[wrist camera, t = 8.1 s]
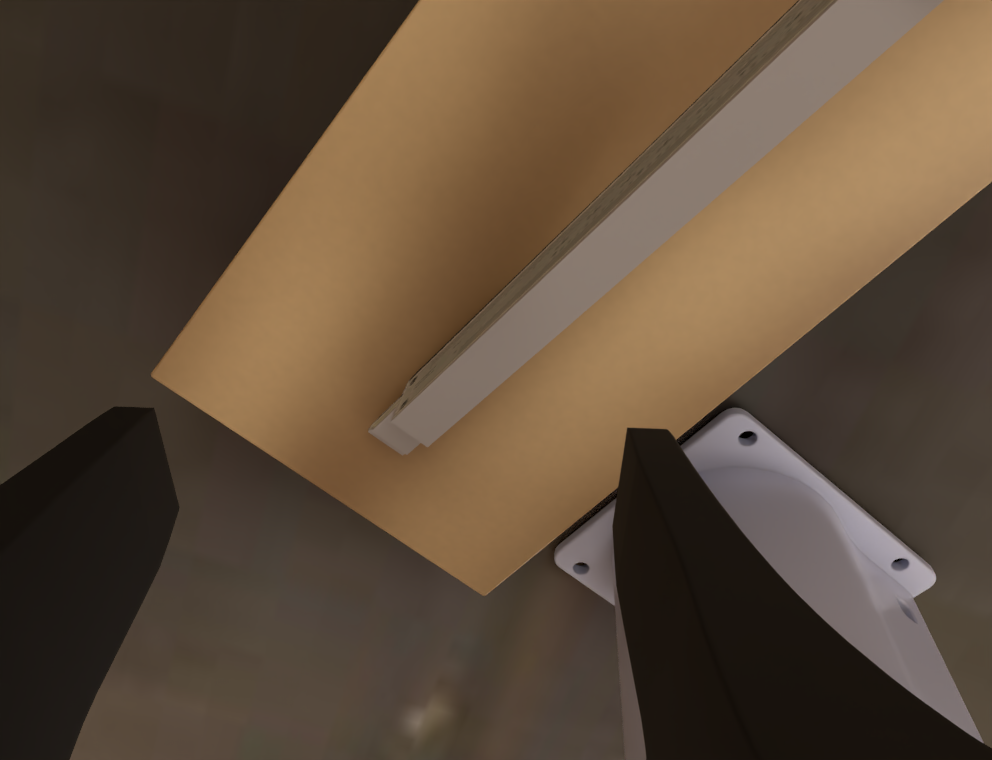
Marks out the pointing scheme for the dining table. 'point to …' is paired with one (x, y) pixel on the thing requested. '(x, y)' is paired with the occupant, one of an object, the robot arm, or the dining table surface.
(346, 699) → the dining table surface
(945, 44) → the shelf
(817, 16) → the caliper
